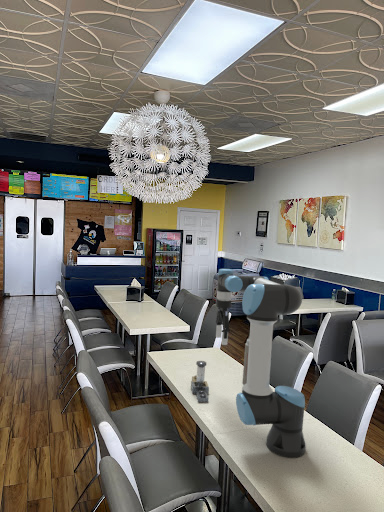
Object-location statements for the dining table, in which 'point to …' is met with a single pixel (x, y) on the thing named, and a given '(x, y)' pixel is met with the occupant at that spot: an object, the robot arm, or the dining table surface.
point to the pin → (200, 373)
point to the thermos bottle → (246, 362)
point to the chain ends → (200, 390)
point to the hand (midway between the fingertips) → (221, 341)
